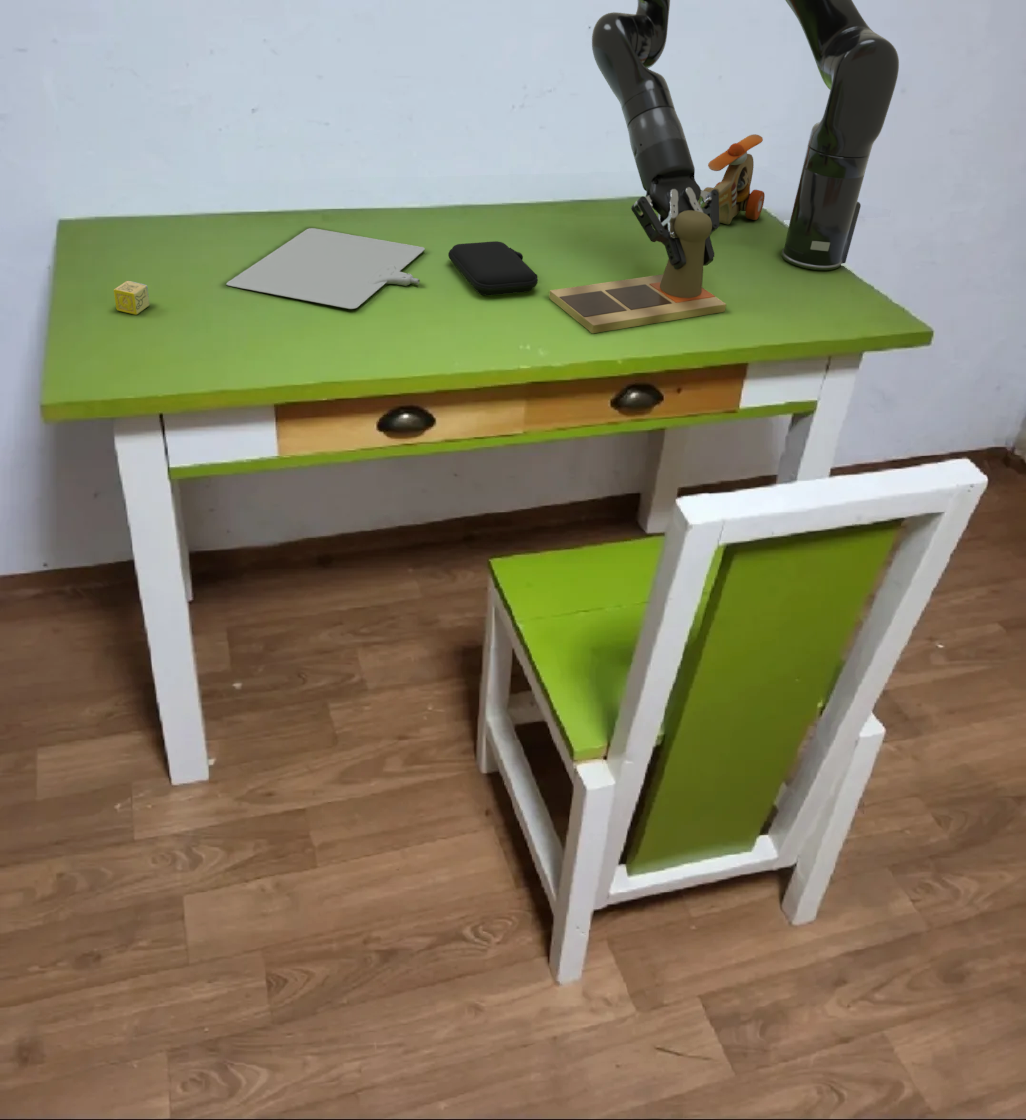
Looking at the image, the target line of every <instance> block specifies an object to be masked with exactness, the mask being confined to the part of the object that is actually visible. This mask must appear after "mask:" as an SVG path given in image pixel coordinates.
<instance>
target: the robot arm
mask: <svg viewBox="0 0 1026 1120" xmlns="http://www.w3.org/2000/svg"><path fill="white" fill-rule="evenodd" d="M784 1H785V2H786V3H787V5H788V6H789V8H790V10H791V11H792V13H793V14H794V15H795V17H796V19H797V20H798V23H799V24H800V27H801V29H802V31H803V33H804V36H805V39H806V41H807V44H808V46H809V48H810V51H811V53H812V56H813V58H814V63H815V65H816V67H817V69H818V72H819V75H820V78H821V80H822V81H823V83H824V84H825V86H826V87H827V88H828V90H829V93H828V98H827V102H826V105H825V109H824V112H823V115H822V118H821V120H820V121H818V122H816V123H815V124H814V125H813V126H812V128H811V129H810V133H809V139H808V142H807V146H806V150H805V155H804V158H803V163H802V168H801V172H800V176H799V181H798V185H797V189H796V190H797V191H796V193H795V198H794V202H793V206H792V211H791V216H790V220H789V223H788V228H787V232H786V237H785V241H784V246H783V248H782V251H781V257H782V259H783V260H784V261H786V262H787V263H789V264H791V265H793V266H796V267H799V268H803V269H808V270H814V271H832V270H836V269H838V268H840V267H841V266H842V264H846V262H847V258H848V254H849V252H850V248H851V244H852V240H853V236H854V232H855V230H856V225H857V221H858V217H859V214H860V210H861V203H860V202H859V201H858V200H859V197H860V194H861V193H860V192H861V189H862V186H863V181H864V178H865V174H866V170H867V166H868V163H869V160H870V159H869V158H870V155H871V152H872V149H873V145H874V143H875V142H876V140H877V139H878V137H879V136H880V134H881V132H882V130H883V128H884V124H885V121H886V118H887V115H888V111H889V108H890V105H891V102H892V99H893V96H894V92H895V89H896V85H897V82H898V77H899V70H900V58H899V54H898V51H897V50H896V48H895V46H894V45H893V43H891V42H890V41H889V40H888V39H886V38H884V37H883V36H881V35H880V34H879V33H877V32H874V30H873V29H872V28H870V26H869V25H868V23H867V22H866V21H865V19H864V17H862V14H861V13H860V11H859V10H858V8H857V6H856V5H855V3H854V1H853V0H784ZM670 7H671V0H637V6H636V12H635V13H625V12H615V11H613V12H608V13H605V14H604V15H602V16H601V17H599V18H598V19H597V21H596V23H595V25H594V27H593V29H592V34H591V51H592V54H593V59H594V61H595V63H596V66H597V68H598V69H599V71H600V74H601V75H602V76H603V78H604V79H605V81H606V83H607V85H608V86H609V88H610V90H611V92H612V93H613V94H614V96H615V97H616V99H617V100H618V102H619V104H620V107H621V111H622V115H623V118H624V121H625V124H626V125H625V126H626V128H627V132H628V137H629V145H630V148H631V151H632V155H633V158H634V162H635V165H636V168H637V172H638V175H639V179H640V182H641V185H642V188H643V190H644V191H645V192H646V194H645V196H640V197H639V198H638V199H637V200H636V201H635V202H634V203H633V204H632V205H631V206H630V208H631V211H632V213H633V215H634V216H635V218H636V219H637V221H638V223H639V224H640V226H641V228H642V230H643V231H644V233H645V234H646V236H647V238H648V240H649V241H650V242H651V243H656V242H659V243H661V244H662V245H663V246H664V248H665V251H666V254H667V258H668V259H669V261H670V264H671V265H672V266H673V267H674V269H681V268H682V267H683V266H684V265H686V259H685V255H684V252H683V248H682V245H681V242H680V239H679V238H678V239H677V238H676V237H677V234H676V232H675V228H674V224H675V220H676V217H677V216H678V215H679V214H680V213H681V212H683V211H687V210H693V211H699V212H702V213H705V214H707V215H708V216H709V217H710V219H711V222H712V230H711V233H710V235H709V236H708V238H707V239H706V240H705V251H704V265H703V267H705V266H708V265H710V264H711V263H712V262H713V261H714V258H715V250H714V247H713V243H712V240H711V237H710V236H711V234H712V233H714V232H715V231H716V230H718V229H719V228H720V222H719V193H718V191H717V190H715V189H714V190H712V191H711V192H707V191H703V190H704V189H701V187H700V185H699V184H698V182H697V181H696V178H695V173H696V169H695V165H694V161H693V158H692V154H691V151H690V148H689V145H688V142H687V138H686V135H685V131H684V128H683V125H682V122H681V120H680V118H679V115H678V114H677V110H676V109H675V104H674V102H673V99H672V95H671V92H670V89H669V88H670V87H669V85H668V82H667V81H666V79H665V77H664V76H663V75H662V74H660V73H658V72H656V71H654V70H652V69H650V68H651V67H653V66H654V65H655V64H656V63H657V62H658V61H659V59H660V58H661V56H662V54H663V52H664V50H665V47H666V43H667V37H668V29H669V18H670V17H669V16H670ZM699 201H700V203H701V205H699Z"/></svg>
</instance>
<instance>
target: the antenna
mask: <svg viewBox="0 0 1026 1120" xmlns="http://www.w3.org/2000/svg"><path fill="white" fill-rule="evenodd" d="M424 251H426V248H425V247H424V246H418V245H414V244H413V245H412V244H406V243H402V242H401V243H400V242H397V241H396V242H395V241H390V240H385V239H379V238H373V237H367V236H361V235H357V234H356V235H355V234H349V233H343V232H338V231H332V230H327V229H320V228H315V227H310V228H306V229H305V230H303V231H302V232H301V233H299V234H297V235H296V236H294V237H293V238H292V239H290V240H289V241H287V242H285V243H284V244H282V245H281V246H279V247H278V248H276V249H275V250H274V251H272V252H270V253H269V254H267V255H266V256H265V257H263V258H262V259H260V260H259V261H257V262H255V263H253V265H251V266H249V267H248V268H246V269H245V270H243V271H242V272H240V273H238V274H237V275H236V276H235V277H233V278H232V279H230V280H228V281H227V282H226V286H228V287H233V288H238V289H243V290H249V291H253V292H257V293H264V294H268V295H269V294H270V295H274V296H278V297H279V296H280V297H285V298H290V299H296V300H301V301H304V302H305V301H306V302H311V303H316V304H322V305H326V306H331V307H337V308H342V309H348V310H355V309H358V308H359V307H360V306H361V305H362V304H363V303H365V302H366V301H368V299H369V298H371V296H373V295H374V294H376V293H377V291H379V290H380V289H381V288H382V287H383V286H384V285H399V286H404V287H407V286H409V285H411V284H413V285H419V284H420V279H419V278H418V277H417V278H416V277H414V275H413V274H411V273H408V272H403V269H404V268H405V267H406V266H408V265H409V264H410V263H411V262H413V261H414V260H415V259H416V258H417V257H419V255H421V254H422V253H423V252H424Z"/></svg>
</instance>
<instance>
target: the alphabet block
mask: <svg viewBox="0 0 1026 1120" xmlns="http://www.w3.org/2000/svg"><path fill="white" fill-rule="evenodd" d="M113 296H114V302H115V309H116V311H119V312H123V313H125V314H126V313H127V314H132V315H135V316H136V315H138V314H140V313H141V312H143V311H144V310H145V309H146V308H148V307H150V296H149V289H148V285H147V284H144V283H141V282H135V281H131V280H126V281H124V282H123V283H121V284H120V285H118V286H117V287H115V288H114V289H113Z"/></svg>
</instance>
